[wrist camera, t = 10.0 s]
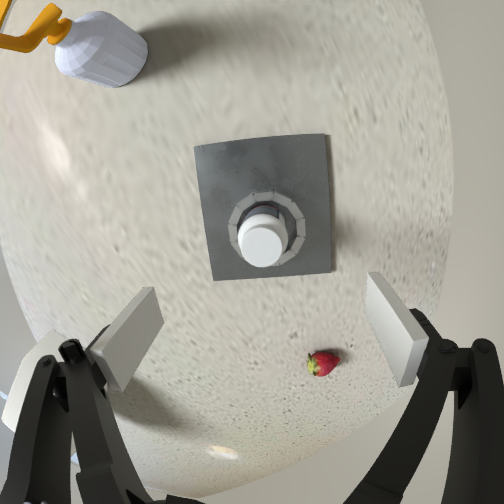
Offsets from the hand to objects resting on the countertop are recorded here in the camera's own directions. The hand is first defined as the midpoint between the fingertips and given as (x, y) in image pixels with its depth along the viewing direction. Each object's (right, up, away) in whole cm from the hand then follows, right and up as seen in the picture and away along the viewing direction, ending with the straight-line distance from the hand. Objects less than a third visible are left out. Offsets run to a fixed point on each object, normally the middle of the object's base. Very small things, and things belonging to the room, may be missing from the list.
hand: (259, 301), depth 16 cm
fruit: (+11, -14, +25) cm, 31 cm away
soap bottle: (-19, +31, +12) cm, 38 cm away
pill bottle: (+1, +6, +18) cm, 19 cm away
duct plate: (+1, +8, +18) cm, 20 cm away
